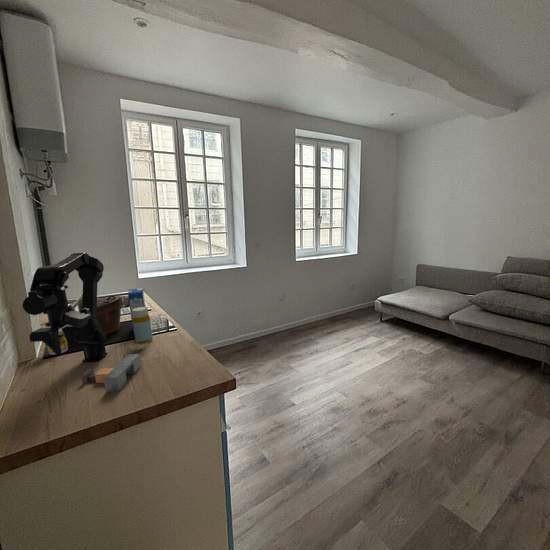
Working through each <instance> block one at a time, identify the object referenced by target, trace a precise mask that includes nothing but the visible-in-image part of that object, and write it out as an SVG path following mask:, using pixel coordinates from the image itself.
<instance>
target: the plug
mask: <svg viewBox="0 0 550 550" xmlns="http://www.w3.org/2000/svg"><path fill="white" fill-rule="evenodd" d="M114 368H115V367H105V368H104V367H103V368H101V369H100V370H98V372H96V373H95V372H94V368H89V369H87V370H86V371H85V372H83V373H82V374H80V377H81V383H82V384H83V385H85V384H89V383H90V382H96V384H99V383H103V384H104V377H105V376H106V375H107V374H108V373H110V372H111V371H112V370H113V369H114Z"/></svg>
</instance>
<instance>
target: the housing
mask: <svg viewBox="0 0 550 550" xmlns="http://www.w3.org/2000/svg"><path fill="white" fill-rule="evenodd" d="M141 367H142V362H141V355H140V353H133V354H127V355H126V356H125V357H124V358H123V359H122V360H121V361H120V362H119V363H118V364H117V365H116V366H114V367H113V368H114V369H113V370H112V371H111V372H110V373H108V374H107V375H106V376H105V377H104V383H103V384H104V388H105V393H117V392H118V393H119V392H120V391H121V390H122V389H123V387H124V386H126V384H127V383H128V381H127V380H128V379H127V375H130V374H131V375H133V374H136V373H137V372H138V370H140V368H141Z"/></svg>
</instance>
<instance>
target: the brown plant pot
mask: <svg viewBox="0 0 550 550" xmlns="http://www.w3.org/2000/svg"><path fill="white" fill-rule="evenodd" d="M124 305H125V302H124V300H123V298H122V297H121V296H116V295H110V296H108V297H106V298H98V297H97V314H96V319H97V321H98V322H99V323H100V325H101V330H102V331H103V332H104V333H105V334H106V335H109V334H112V333H115V332H117V331H118V330H120V325H121V315H122V313H121V311H122V306H124ZM81 310H82V298H80V299H79V300H78V311H81Z"/></svg>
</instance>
